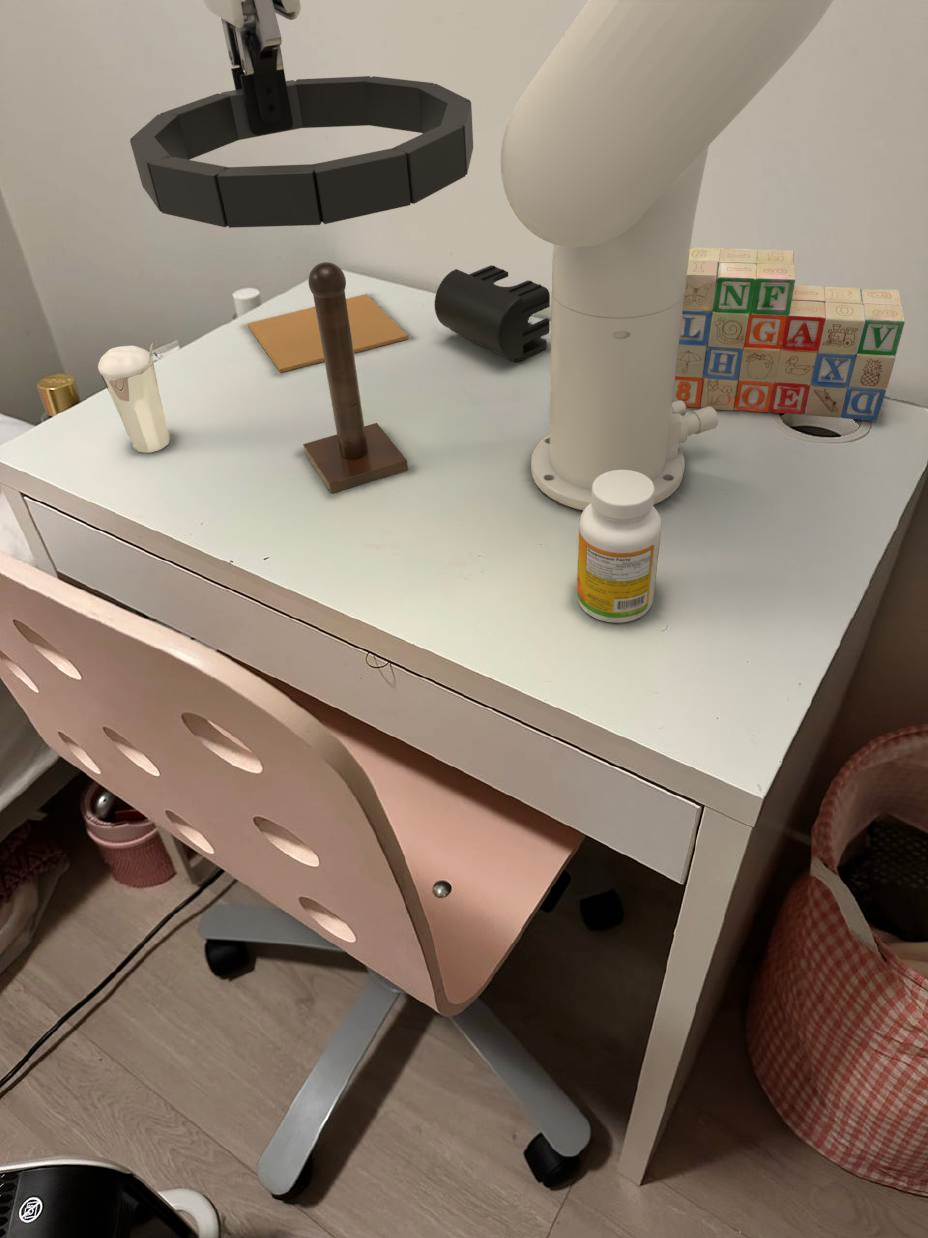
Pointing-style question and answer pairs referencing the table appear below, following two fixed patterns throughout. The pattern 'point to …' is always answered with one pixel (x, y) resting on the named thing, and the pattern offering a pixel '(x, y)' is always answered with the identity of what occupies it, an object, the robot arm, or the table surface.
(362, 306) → the desk pad
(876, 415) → the stack of blocks
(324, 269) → the headphone stand
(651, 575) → the supplement bottle
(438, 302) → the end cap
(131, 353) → the milkshake
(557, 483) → the robot arm
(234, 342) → the table surface
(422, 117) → the ring
